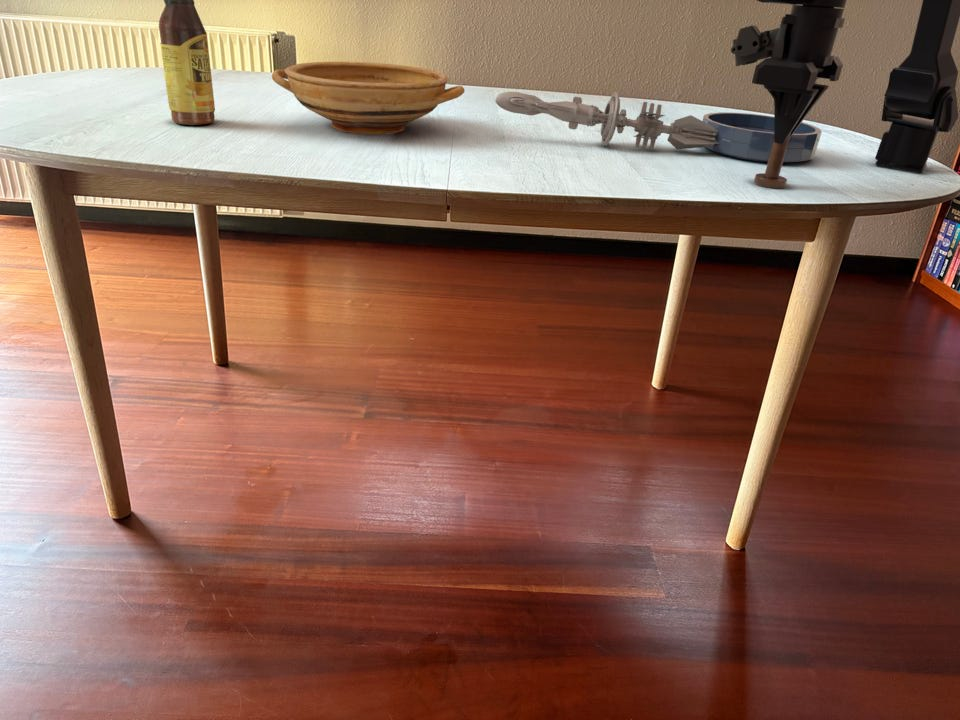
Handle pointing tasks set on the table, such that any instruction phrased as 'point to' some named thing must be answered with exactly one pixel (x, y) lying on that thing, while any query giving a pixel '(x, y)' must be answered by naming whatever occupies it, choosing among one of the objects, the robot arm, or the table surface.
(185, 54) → the sauce bottle
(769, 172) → the stirring stick
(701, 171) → the table surface
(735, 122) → the mixing bowl
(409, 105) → the ceramic bowl
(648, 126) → the spaceship
